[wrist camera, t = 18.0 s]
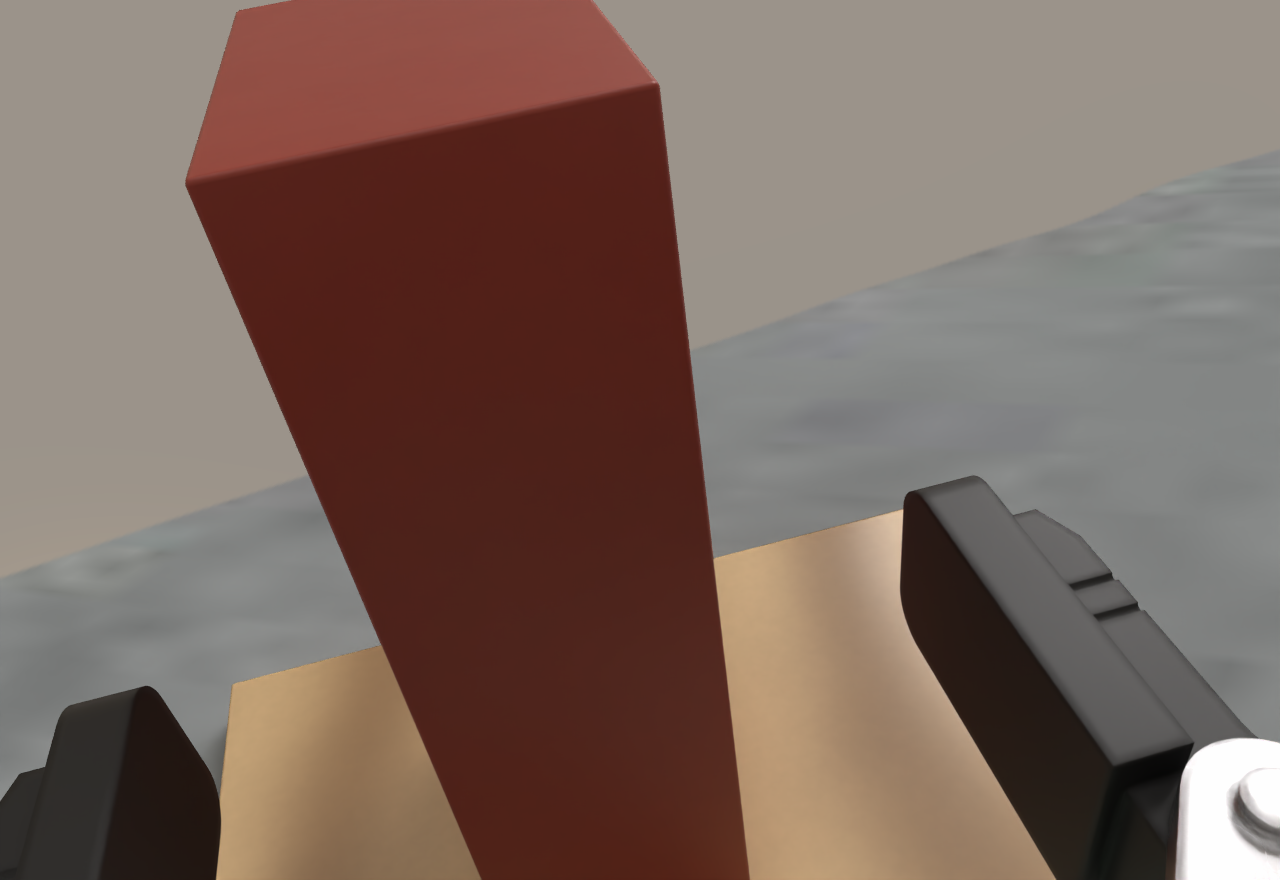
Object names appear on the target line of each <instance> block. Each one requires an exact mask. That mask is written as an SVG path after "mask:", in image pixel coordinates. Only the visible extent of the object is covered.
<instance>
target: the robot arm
mask: <svg viewBox="0 0 1280 880" xmlns="http://www.w3.org/2000/svg"><path fill="white" fill-rule="evenodd" d="M900 597H901V603H902V608H903V612H904V616H905V619H906V622H907V625H908V628H909V630H910V633H911V635H912V637H913V639H914V641H915V643H916V645H917V647H918V648H919V650H920V652H921V653H922V655H923V657H924V658H925V660H926V662H927V663H928V665H929V667H930V668H931V670H932V672H933V673H934V675H935V677H936V678H937V680H938V682H939V684H940V685H941V687H942V689H943V690H944V692H945V694H946V695H947V697H948V699H949V700H950V702H951V704H952V705H953V707H954V709H955V710H956V712H957V714H958V715H959V717H960V719H961V720H962V722H963V724H964V726H965V727H966V729H967V731H968V732H969V734H970V736H971V737H972V739H973V741H974V742H975V744H976V746H977V747H978V749H979V751H980V752H981V754H982V756H983V757H984V759H985V761H986V763H987V764H988V766H989V768H990V769H991V771H992V773H993V774H994V776H995V778H996V779H997V781H998V783H999V784H1000V786H1001V788H1002V789H1003V791H1004V793H1005V794H1006V796H1007V798H1008V799H1009V801H1010V803H1011V805H1012V806H1013V808H1014V810H1015V811H1016V813H1017V815H1018V816H1019V818H1020V820H1021V821H1022V823H1023V825H1024V826H1025V828H1026V830H1027V831H1028V833H1029V835H1030V836H1031V838H1032V840H1033V842H1034V843H1035V845H1036V847H1037V848H1038V850H1039V852H1040V853H1041V855H1042V857H1043V858H1044V860H1045V862H1046V863H1047V865H1048V867H1049V868H1050V870H1051V872H1052V873H1053V875H1054V877H1055V878H1056V880H1280V743H1276V742H1273V741H1267V740H1262V739H1259V738H1258V737H1256V736H1255V735H1254V734H1253V733H1252V732H1250V730H1249V729H1248V728H1247V727H1246V726H1245V725H1244V724H1243V723H1242V722H1241V721H1240V720H1239V719H1238V718H1237V717H1236V716H1235V714H1234V713H1233V712H1232V711H1231V710H1230V709H1229V707H1228V706H1227V705H1226V704H1225V703H1224V702H1223V700H1222V699H1221V698H1220V697H1219V696H1218V695H1217V693H1216V692H1215V691H1214V690H1213V689H1212V688H1211V687H1210V685H1209V684H1208V683H1207V682H1206V681H1205V680H1204V678H1203V677H1202V676H1201V675H1200V674H1199V673H1198V671H1197V670H1196V669H1195V668H1194V667H1193V666H1192V665H1191V663H1190V662H1189V661H1188V660H1187V659H1186V658H1185V656H1184V655H1183V654H1182V653H1181V652H1180V651H1179V649H1178V648H1177V647H1176V646H1175V645H1174V644H1173V642H1172V641H1171V640H1170V639H1169V638H1168V637H1167V636H1166V634H1165V633H1164V632H1163V631H1162V630H1161V629H1160V627H1159V626H1158V625H1157V624H1156V623H1155V622H1154V620H1153V619H1152V618H1151V617H1150V616H1149V615H1148V613H1147V612H1146V611H1145V610H1143V611H1141V610H1140V609H1139V607H1138V602H1137V601H1136V600H1135V598H1134V597H1133V596H1132V595H1131V594H1130V593H1129V591H1128V590H1127V589H1126V588H1125V587H1124V586H1123V585H1122V583H1121V582H1120V581H1119V580H1114V578H1113V576H1112V572H1111V571H1110V569H1109V568H1108V567H1107V566H1106V565H1105V564H1104V562H1103V561H1102V560H1101V559H1100V558H1099V557H1098V556H1097V554H1096V553H1095V552H1094V551H1093V550H1092V549H1091V547H1090V546H1089V545H1088V544H1087V543H1086V542H1085V540H1084V539H1083V538H1082V537H1081V536H1080V535H1078V534H1076V533H1075V532H1073V531H1071V530H1070V529H1068V528H1066V527H1065V526H1063V525H1061V524H1060V523H1058V522H1056V521H1054V520H1053V519H1051V518H1049V517H1048V516H1046V515H1044V514H1043V513H1041V512H1039V511H1038V510H1036V509H1035V510H1031V511H1027V512H1024V513H1020V514H1016V515H1012V514H1011V513H1010V511H1009V510H1008V509H1007V508H1006V506H1005V505H1004V504H1003V503H1002V501H1001V500H1000V499H999V498H998V496H997V495H996V494H995V493H994V491H993V490H992V489H991V488H990V486H989V485H988V484H987V483H986V482H985V481H984V480H983V479H981V478H980V477H978V476H969V477H965V478H961V479H957V480H953V481H950V482H946V483H942V484H938V485H934V486H930V487H926V488H922V489H918V490H915V491H911V492H909V493H907V495H906V497H905V500H904V506H903V526H902V548H901V571H900ZM220 838H221V809H220V802H219V797H218V792H217V789H216V785H215V782H214V779H213V777H212V775H211V773H210V771H209V769H208V767H207V766H206V764H205V763H204V761H203V760H202V758H201V757H200V755H199V754H198V752H197V751H196V749H195V748H194V746H193V745H192V743H191V742H190V740H189V738H188V737H187V735H186V734H185V732H184V731H183V729H182V728H181V726H180V725H179V723H178V722H177V720H176V719H175V717H174V716H173V714H172V713H171V711H170V710H169V708H168V706H167V705H166V703H165V702H164V700H163V699H162V697H161V696H160V695H159V693H158V692H157V691H156V690H155V689H153V688H152V687H150V686H143V687H139V688H136V689H132V690H128V691H124V692H120V693H116V694H112V695H108V696H104V697H101V698H97V699H93V700H89V701H85V702H81V703H77V704H73V705H70V706H68V707H67V708H65V710H64V711H63V712H62V714H61V715H60V717H59V720H58V723H57V726H56V729H55V733H54V737H53V740H52V744H51V747H50V751H49V755H48V758H47V762H46V766H45V767H43V768H40V769H36V770H32V771H28V772H24V773H21V774H19V775H18V777H17V778H16V780H15V781H14V783H13V784H12V785H11V787H10V788H9V790H8V791H7V793H6V794H5V795H4V797H3V798H2V800H1V801H0V880H216V875H217V866H218V856H219V847H220Z"/></svg>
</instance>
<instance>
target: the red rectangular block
mask: <svg viewBox="0 0 1280 880" xmlns="http://www.w3.org/2000/svg"><path fill="white" fill-rule="evenodd" d="M185 184H186V188H187V190H188V193H189V195H190V197H191V200H192V202H193V204H194V207H195V209H196V211H197V214H198V216H199V218H200V221H201V223H202V225H203V228H204V230H205V232H206V235H207V237H208V240H209V242H210V244H211V247H212V249H213V251H214V253H215V256H216V258H217V261H218V263H219V265H220V268H221V270H222V272H223V274H224V277H225V279H226V282H227V284H228V286H229V289H230V291H231V294H232V296H233V298H234V300H235V303H236V305H237V307H238V309H239V312H240V315H241V317H242V319H243V322H244V324H245V326H246V329H247V331H248V333H249V336H250V338H251V340H252V343H253V345H254V347H255V350H256V352H257V354H258V357H259V359H260V362H261V364H262V366H263V368H264V371H265V373H266V376H267V378H268V380H269V383H270V385H271V387H272V390H273V392H274V394H275V397H276V399H277V401H278V404H279V406H280V408H281V411H282V413H283V415H284V418H285V420H286V422H287V425H288V427H289V430H290V432H291V434H292V436H293V439H294V441H295V444H296V446H297V448H298V451H299V453H300V455H301V458H302V460H303V462H304V465H305V467H306V469H307V472H308V474H309V477H310V479H311V481H312V484H313V486H314V488H315V491H316V493H317V495H318V498H319V500H320V502H321V505H322V507H323V509H324V512H325V514H326V516H327V519H328V521H329V523H330V526H331V528H332V530H333V533H334V535H335V538H336V540H337V542H338V545H339V547H340V549H341V552H342V554H343V556H344V559H345V561H346V563H347V566H348V568H349V570H350V573H351V575H352V577H353V580H354V582H355V584H356V587H357V589H358V591H359V594H360V596H361V599H362V601H363V603H364V606H365V608H366V610H367V613H368V615H369V617H370V620H371V622H372V624H373V627H374V629H375V631H376V634H377V636H378V638H379V641H380V643H381V645H382V648H383V650H384V653H385V655H386V657H387V660H388V662H389V664H390V667H391V669H392V671H393V674H394V676H395V678H396V681H397V683H398V685H399V688H400V690H401V692H402V695H403V697H404V699H405V702H406V704H407V706H408V709H409V711H410V714H411V716H412V718H413V721H414V723H415V725H416V728H417V730H418V732H419V735H420V737H421V739H422V742H423V744H424V746H425V749H426V751H427V753H428V756H429V758H430V760H431V763H432V765H433V767H434V770H435V772H436V775H437V777H438V779H439V782H440V784H441V786H442V789H443V791H444V793H445V796H446V798H447V800H448V803H449V805H450V807H451V810H452V812H453V814H454V817H455V819H456V821H457V824H458V826H459V828H460V831H461V833H462V836H463V838H464V840H465V843H466V845H467V847H468V850H469V852H470V854H471V857H472V859H473V861H474V864H475V866H476V868H477V871H478V873H479V875H480V878H481V880H750V874H749V865H748V857H747V848H746V839H745V830H744V821H743V813H742V804H741V795H740V786H739V778H738V769H737V760H736V751H735V743H734V734H733V725H732V716H731V708H730V699H729V690H728V681H727V673H726V664H725V655H724V646H723V638H722V629H721V620H720V611H719V603H718V594H717V585H716V576H715V568H714V559H713V550H712V541H711V533H710V524H709V515H708V506H707V497H706V489H705V480H704V471H703V462H702V454H701V445H700V436H699V427H698V419H697V410H696V401H695V392H694V384H693V375H692V366H691V357H690V349H689V340H688V332H687V323H686V314H685V306H684V296H683V288H682V280H681V270H680V261H679V252H678V244H677V235H676V226H675V218H674V209H673V200H672V192H671V182H670V174H669V166H668V156H667V147H666V139H665V130H664V121H663V112H662V104H661V95H660V86H659V84H658V82H657V81H656V79H655V78H654V77H653V76H652V74H651V73H650V72H649V71H648V69H647V68H646V67H645V66H644V64H643V63H642V62H641V61H640V59H639V58H638V57H637V56H636V54H635V53H634V52H633V51H632V49H631V48H630V47H629V45H628V44H627V43H626V42H625V40H624V39H623V38H622V37H621V35H620V34H619V33H618V32H617V30H616V29H615V28H614V27H613V25H612V24H611V23H610V22H609V20H608V19H607V18H606V17H605V15H604V14H603V13H602V12H601V10H600V9H599V8H598V7H597V5H596V4H595V3H594V1H593V0H291V1H286V2H280V3H276V4H270V5H265V6H260V7H254V8H249V9H244V10H239V11H238V12H236V15H235V18H234V22H233V25H232V28H231V32H230V35H229V38H228V42H227V45H226V48H225V51H224V55H223V58H222V61H221V64H220V68H219V71H218V74H217V78H216V81H215V84H214V88H213V91H212V94H211V97H210V101H209V104H208V107H207V111H206V114H205V117H204V121H203V124H202V127H201V131H200V134H199V137H198V140H197V144H196V147H195V151H194V153H193V157H192V160H191V163H190V167H189V170H188V173H187V177H186V183H185Z"/></svg>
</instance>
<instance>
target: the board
mask: <svg viewBox="0 0 1280 880" xmlns="http://www.w3.org/2000/svg"><path fill="white" fill-rule="evenodd" d="M902 526H903V509H901V510H897V511H893V512H890V513H886V514H882V515H878V516H874V517H870V518H867V519H863V520H859V521H855V522H851V523H847V524H844V525H840V526H836V527H832V528H828V529H824V530H821V531H817V532H813V533H809V534H805V535H801V536H798V537H794V538H790V539H786V540H782V541H778V542H775V543H771V544H767V545H763V546H759V547H755V548H752V549H748V550H744V551H740V552H736V553H733V554H729V555H725V556H721V557H717V558H713V559H714V568H715V576H716V585H717V594H718V603H719V611H720V620H721V629H722V638H723V646H724V655H725V664H726V673H727V681H728V690H729V699H730V708H731V716H732V725H733V734H734V743H735V751H736V760H737V769H738V778H739V786H740V795H741V804H742V813H743V821H744V830H745V839H746V848H747V857H748V865H749V874H750V880H1056V878H1055V877H1054V875H1053V873H1052V872H1051V870H1050V868H1049V867H1048V865H1047V863H1046V862H1045V860H1044V858H1043V857H1042V855H1041V853H1040V852H1039V850H1038V848H1037V847H1036V845H1035V843H1034V842H1033V840H1032V838H1031V836H1030V835H1029V833H1028V831H1027V830H1026V828H1025V826H1024V825H1023V823H1022V821H1021V820H1020V818H1019V816H1018V815H1017V813H1016V811H1015V810H1014V808H1013V806H1012V805H1011V803H1010V801H1009V799H1008V798H1007V796H1006V794H1005V793H1004V791H1003V789H1002V788H1001V786H1000V784H999V783H998V781H997V779H996V778H995V776H994V774H993V773H992V771H991V769H990V768H989V766H988V764H987V763H986V761H985V759H984V757H983V756H982V754H981V752H980V751H979V749H978V747H977V746H976V744H975V742H974V741H973V739H972V737H971V736H970V734H969V732H968V731H967V729H966V727H965V726H964V724H963V722H962V720H961V719H960V717H959V715H958V714H957V712H956V710H955V709H954V707H953V705H952V704H951V702H950V700H949V699H948V697H947V695H946V694H945V692H944V690H943V689H942V687H941V685H940V684H939V682H938V680H937V678H936V677H935V675H934V673H933V672H932V670H931V668H930V667H929V665H928V663H927V662H926V660H925V658H924V657H923V655H922V653H921V652H920V650H919V648H918V647H917V645H916V643H915V641H914V639H913V637H912V635H911V633H910V630H909V628H908V625H907V622H906V619H905V616H904V612H903V608H902V603H901V597H900V571H901V548H902ZM219 802H220V809H221V838H220V847H219V856H218V866H217V875H216V880H481V878H480V875H479V873H478V871H477V868H476V866H475V864H474V861H473V859H472V857H471V854H470V852H469V850H468V847H467V845H466V843H465V840H464V838H463V836H462V833H461V831H460V828H459V826H458V824H457V821H456V819H455V817H454V814H453V812H452V810H451V807H450V805H449V803H448V800H447V798H446V796H445V793H444V791H443V789H442V786H441V784H440V782H439V779H438V777H437V775H436V772H435V770H434V767H433V765H432V763H431V760H430V758H429V756H428V753H427V751H426V749H425V746H424V744H423V742H422V739H421V737H420V735H419V732H418V730H417V728H416V725H415V723H414V721H413V718H412V716H411V714H410V711H409V709H408V706H407V704H406V702H405V699H404V697H403V695H402V692H401V690H400V688H399V685H398V683H397V681H396V678H395V676H394V674H393V671H392V669H391V667H390V664H389V662H388V660H387V657H386V655H385V653H384V650H383V648H382V645H380V646H376V647H373V648H369V649H365V650H361V651H357V652H353V653H350V654H346V655H342V656H338V657H334V658H330V659H327V660H323V661H319V662H315V663H311V664H307V665H304V666H300V667H296V668H292V669H288V670H284V671H281V672H277V673H273V674H269V675H265V676H261V677H258V678H254V679H250V680H246V681H242V682H238V683H235V684H233V685H232V688H231V698H230V707H229V716H228V725H227V735H226V744H225V753H224V763H223V772H222V781H221V790H220V800H219Z"/></svg>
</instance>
